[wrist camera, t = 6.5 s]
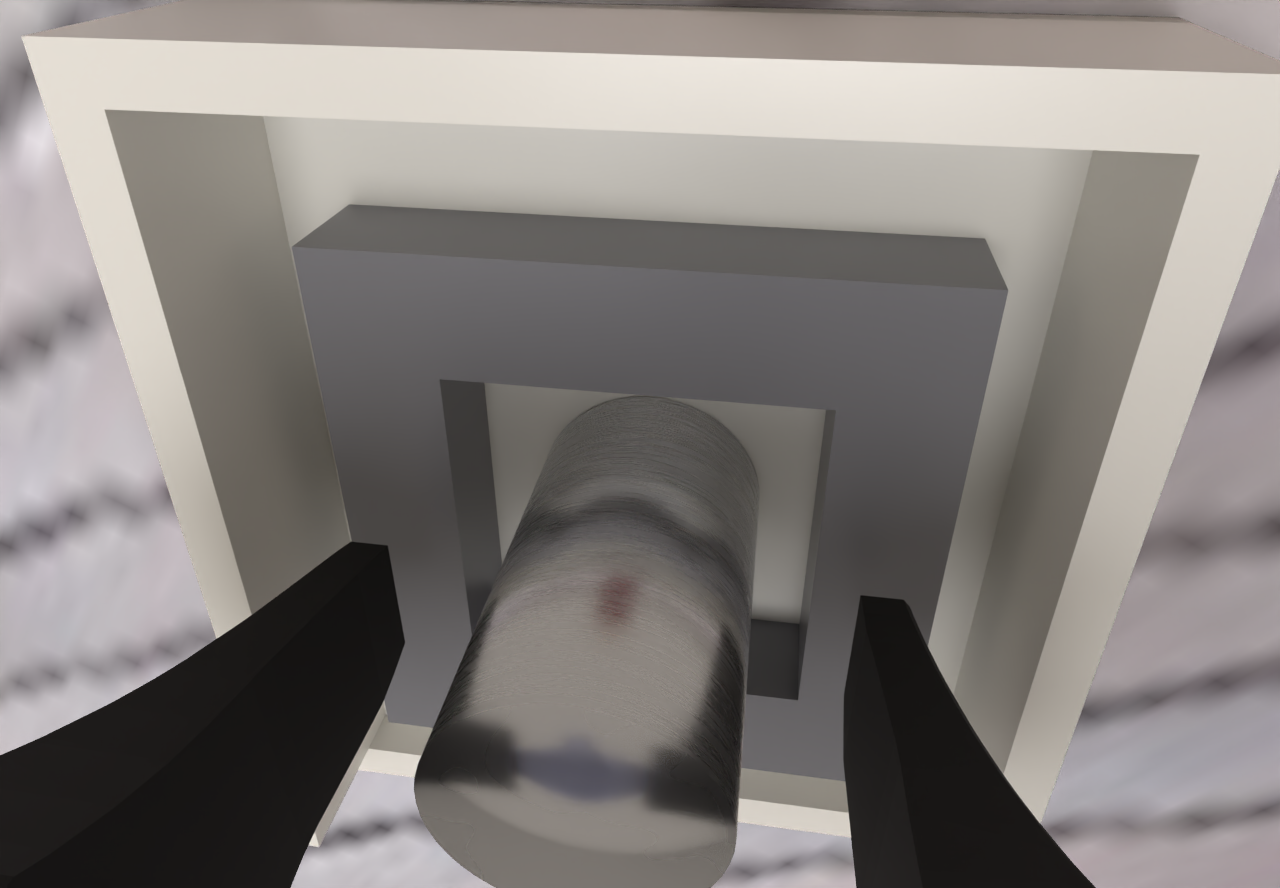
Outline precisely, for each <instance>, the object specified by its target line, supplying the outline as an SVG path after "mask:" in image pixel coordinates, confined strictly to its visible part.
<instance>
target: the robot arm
mask: <svg viewBox="0 0 1280 888" xmlns="http://www.w3.org/2000/svg"><path fill="white" fill-rule="evenodd" d="M404 645H405V639H404V633H403V627H402V622H401V616H400V611H399V605H398V599H397V594H396V588H395V583H394V577H393V571H392V566H391V560H390V555H389V549H388V545H379V544H370V543H360V542H350V543H348V544H347V545H345V546H344V547H342V548H341V549H339V550H338V551H337V552H335V553H334V554H333V555H331V556H330V557H329V558H327V559H326V560H325V561H323V562H322V563H321V564H319V565H318V566H317V567H315V568H314V569H313V570H311V571H310V572H309V573H307V574H306V575H305V576H303V577H302V578H301V579H299V580H298V581H297V582H295V583H294V584H293V585H291V586H290V587H289V588H288V589H286V590H285V591H283V592H282V593H281V594H279V595H278V596H277V597H275V598H274V599H273V600H271V601H270V602H268V603H267V604H266V605H264V606H263V607H262V608H260V609H259V610H258V611H256V612H255V613H253V614H252V615H251V616H249V617H248V618H247V619H245V620H244V621H242V622H241V623H240V624H238V625H237V626H235V627H234V628H232V629H231V630H229V631H228V632H226V633H225V634H223V635H222V636H220V637H219V638H217V639H216V640H214V641H213V642H211V643H210V644H208V645H207V646H205V647H204V648H202V649H201V650H199V651H198V652H196V653H195V654H193V655H192V656H190V657H189V658H187V659H186V660H184V661H183V662H181V663H180V664H178V665H176V666H175V667H173V668H172V669H170V670H168V671H167V672H165V673H163V674H162V675H160V676H158V677H157V678H155V679H153V680H151V681H150V682H148V683H146V684H144V685H143V686H141V687H139V688H137V689H136V690H134V691H132V692H130V693H128V694H127V695H125V696H123V697H121V698H120V699H118V700H116V701H114V702H112V703H110V704H108V705H106V706H104V707H102V708H100V709H98V710H96V711H94V712H92V713H90V714H88V715H86V716H84V717H82V718H80V719H78V720H76V721H74V722H72V723H70V724H68V725H66V726H64V727H62V728H60V729H58V730H56V731H54V732H52V733H50V734H48V735H46V736H43V737H41V738H39V739H37V740H35V741H32V742H30V743H28V744H26V745H23V746H21V747H19V748H16V749H14V750H12V751H9V752H7V753H5V754H3V755H0V888H290V887H291V885H292V882H293V880H294V877H295V875H296V872H297V870H298V868H299V865H300V863H301V860H302V858H303V855H304V853H305V851H306V849H307V847H308V845H309V843H310V841H311V839H312V837H313V834H314V832H315V830H316V828H317V826H318V824H319V822H320V821H321V819H322V817H323V815H324V813H325V811H326V809H327V807H328V806H329V804H330V802H331V800H332V798H333V796H334V794H335V792H336V791H337V789H338V787H339V785H340V783H341V781H342V779H343V778H344V776H345V774H346V772H347V770H348V768H349V766H350V764H351V763H352V761H353V759H354V757H355V755H356V753H357V751H358V750H359V748H360V746H361V744H362V742H363V740H364V738H365V736H366V734H367V732H368V731H369V729H370V727H371V725H372V723H373V721H374V719H375V717H376V715H377V713H378V711H379V709H380V707H381V705H382V703H383V701H384V699H385V696H386V694H387V691H388V689H389V686H390V684H391V681H392V678H393V676H394V673H395V670H396V667H397V665H398V662H399V659H400V656H401V653H402V651H403V648H404ZM843 763H844V773H845V783H846V792H847V802H848V812H849V821H850V830H851V840H852V849H853V858H854V868H855V877H856V886H857V888H1095V886H1094V885H1093V884H1092V883H1091V882H1090V881H1089V880H1088V879H1087V878H1086V877H1085V876H1084V875H1083V874H1082V872H1081V871H1080V870H1079V869H1078V868H1077V867H1076V866H1075V865H1074V864H1073V863H1072V861H1071V860H1070V859H1069V858H1068V857H1067V856H1066V854H1065V853H1064V852H1063V851H1062V850H1061V848H1060V847H1059V846H1058V845H1057V844H1056V842H1055V841H1054V840H1053V839H1052V838H1051V836H1050V835H1049V834H1048V833H1047V832H1046V830H1045V829H1044V828H1043V827H1042V825H1041V824H1040V823H1039V821H1038V820H1037V819H1036V818H1035V816H1034V815H1033V814H1032V812H1031V811H1030V810H1029V809H1028V807H1027V806H1026V805H1025V803H1024V802H1023V801H1022V799H1021V798H1020V797H1019V795H1018V794H1017V793H1016V791H1015V790H1014V789H1013V787H1012V786H1011V784H1010V783H1009V782H1008V780H1007V779H1006V777H1005V776H1004V775H1003V773H1002V772H1001V770H1000V769H999V767H998V766H997V764H996V763H995V761H994V760H993V758H992V757H991V755H990V754H989V752H988V751H987V749H986V748H985V746H984V745H983V743H982V742H981V740H980V739H979V737H978V735H977V734H976V732H975V731H974V729H973V727H972V726H971V724H970V723H969V721H968V719H967V718H966V716H965V714H964V712H963V711H962V709H961V707H960V705H959V704H958V702H957V700H956V699H955V697H954V695H953V693H952V692H951V690H950V688H949V687H948V685H947V683H946V681H945V679H944V677H943V676H942V674H941V672H940V670H939V668H938V666H937V664H936V662H935V660H934V658H933V656H932V654H931V652H930V650H929V648H928V646H927V644H926V642H925V640H924V638H923V636H922V634H921V631H920V629H919V627H918V625H917V622H916V620H915V618H914V615H913V613H912V610H911V608H910V606H909V605H908V604H907V603H906V602H905V600H902V599H893V598H883V597H874V596H864V595H860V601H859V607H858V613H857V619H856V625H855V631H854V637H853V643H852V649H851V655H850V661H849V667H848V673H847V679H846V685H845V691H844V716H843Z"/></svg>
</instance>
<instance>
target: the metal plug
mask: <svg viewBox="0 0 1280 888" xmlns="http://www.w3.org/2000/svg"><path fill="white" fill-rule="evenodd" d="M759 499H760V497H759V483H758V477H757V473H756V470H755V467H754V465H753V462H752V460H751V458H750V456H749V455H748V453H747V451H746V449H745V448H744V447H743V445H742V444H741V443H740V441H739V440H738V439H737V438H736V437H735V436H734V435H733V434H732V432H731V431H730V430H729V429H727V428H726V427H725V426H724V425H722V424H721V423H720V422H719V421H717V420H716V419H714V418H713V417H711V416H709V415H708V414H706V413H704V412H702V411H700V410H698V409H696V408H694V407H692V406H689V405H686V404H683V403H680V402H677V401H672V400H668V399H663V398H655V397H629V398H621V399H616V400H612V401H608V402H605V403H602V404H600V405H597V406H594V407H592V408H590V409H588V410H587V411H585V412H583V413H581V414H580V415H579V416H577V417H576V418H575V419H573V420H572V421H571V422H570V423H569V424H568V425H567V426H566V427H565V428H564V429H563V430H562V431H561V432H560V434H559V435H558V437H557V438H556V440H555V441H554V443H553V445H552V447H551V449H550V451H549V454H548V456H547V459H546V461H545V463H544V466H543V468H542V470H541V473H540V475H539V478H538V480H537V482H536V485H535V487H534V489H533V492H532V494H531V497H530V499H529V501H528V504H527V506H526V508H525V511H524V513H523V516H522V518H521V520H520V523H519V525H518V527H517V530H516V532H515V535H514V537H513V539H512V542H511V544H510V546H509V549H508V551H507V554H506V556H505V558H504V561H503V563H502V565H501V568H500V570H499V573H498V575H497V577H496V580H495V582H494V584H493V587H492V589H491V592H490V594H489V596H488V599H487V601H486V604H485V606H484V608H483V611H482V613H481V615H480V618H479V620H478V623H477V625H476V627H475V630H474V632H473V634H472V637H471V639H470V642H469V644H468V646H467V649H466V651H465V653H464V656H463V658H462V661H461V663H460V665H459V668H458V670H457V672H456V675H455V677H454V680H453V682H452V684H451V687H450V689H449V691H448V694H447V696H446V699H445V701H444V703H443V706H442V708H441V710H440V713H439V715H438V718H437V720H436V722H435V725H434V727H433V729H432V732H431V734H430V737H429V739H428V741H427V744H426V746H425V748H424V751H423V753H422V756H421V758H420V760H419V763H418V766H417V770H416V773H415V781H414V792H415V799H416V804H417V807H418V810H419V813H420V816H421V818H422V820H423V821H424V823H425V825H426V827H427V829H428V830H429V832H430V833H431V835H432V836H433V837H434V839H435V840H436V842H437V843H438V844H439V845H440V846H441V847H442V848H443V849H444V850H445V851H446V852H447V854H449V855H450V856H451V857H452V858H453V859H454V860H455V861H457V862H458V863H459V864H460V865H461V866H463V867H464V868H465V869H467V870H468V871H469V872H471V873H472V874H474V875H475V876H477V877H478V878H480V879H482V880H483V881H485V882H487V883H488V884H490V885H492V886H494V887H496V888H710V887H712V886H713V885H714V884H715V883H716V882H717V881H718V880H719V879H720V878H721V877H722V875H723V874H724V872H725V871H726V869H727V868H728V866H729V865H730V862H731V859H732V857H733V854H734V851H735V845H736V837H737V822H738V808H739V793H740V778H741V764H742V749H743V734H744V719H745V705H746V690H747V675H748V660H749V646H750V631H751V616H752V602H753V587H754V572H755V557H756V543H757V528H758V513H759Z"/></svg>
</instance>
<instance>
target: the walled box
mask: <svg viewBox="0 0 1280 888" xmlns="http://www.w3.org/2000/svg"><path fill="white" fill-rule="evenodd" d="M22 39H23V43H24V46H25V49H26V52H27V55H28V58H29V61H30V64H31V67H32V70H33V73H34V76H35V80H36V83H37V86H38V89H39V92H40V95H41V98H42V101H43V104H44V107H45V110H46V113H47V117H48V120H49V123H50V126H51V129H52V132H53V135H54V138H55V141H56V144H57V147H58V151H59V154H60V157H61V160H62V163H63V166H64V169H65V172H66V175H67V178H68V181H69V184H70V188H71V191H72V194H73V197H74V200H75V203H76V206H77V209H78V212H79V215H80V218H81V222H82V225H83V228H84V231H85V234H86V237H87V240H88V243H89V246H90V249H91V252H92V255H93V259H94V262H95V265H96V268H97V271H98V274H99V277H100V280H101V283H102V286H103V289H104V293H105V296H106V299H107V302H108V305H109V308H110V311H111V314H112V317H113V320H114V323H115V326H116V330H117V333H118V336H119V339H120V342H121V345H122V348H123V351H124V354H125V357H126V360H127V363H128V367H129V370H130V373H131V376H132V379H133V382H134V385H135V388H136V391H137V394H138V397H139V401H140V404H141V407H142V410H143V413H144V416H145V419H146V422H147V425H148V428H149V431H150V434H151V438H152V441H153V444H154V447H155V450H156V453H157V456H158V459H159V462H160V465H161V468H162V472H163V475H164V478H165V481H166V484H167V487H168V490H169V493H170V496H171V499H172V502H173V505H174V509H175V512H176V515H177V518H178V521H179V524H180V527H181V530H182V533H183V536H184V539H185V543H186V546H187V549H188V552H189V555H190V558H191V561H192V564H193V567H194V570H195V573H196V576H197V580H198V583H199V586H200V589H201V592H202V595H203V598H204V601H205V604H206V607H207V610H208V613H209V617H210V620H211V623H212V626H213V629H214V632H215V635H216V638H219V637H220V636H222V635H223V634H225V633H226V632H228V631H229V630H231V629H232V628H234V627H235V626H237V625H238V624H240V623H241V622H242V621H244V620H245V619H247V618H248V617H249V616H251V615H252V614H253V613H255V612H256V611H258V610H259V609H260V608H262V607H263V606H264V605H266V604H267V603H268V602H270V601H271V600H273V599H274V598H275V597H277V596H278V595H279V594H281V593H282V592H283V591H285V590H286V589H288V588H289V587H290V586H291V585H293V584H294V583H295V582H297V581H298V580H299V579H301V578H302V577H303V576H305V575H306V574H307V573H309V572H310V571H311V570H313V569H314V568H315V567H317V566H318V565H319V564H321V563H322V562H323V561H325V560H326V559H327V558H329V557H330V556H331V555H333V554H334V553H335V552H337V551H338V550H339V549H341V548H342V547H344V546H345V545H347V544H348V543H350V542H360V543H370V544H379V545H388V549H389V555H390V560H391V566H392V571H393V577H394V583H395V588H396V594H397V599H398V605H399V611H400V616H401V622H402V627H403V633H404V639H405V645H404V648H403V651H402V653H401V656H400V659H399V662H398V665H397V667H396V670H395V673H394V676H393V678H392V681H391V684H390V686H389V689H388V691H387V694H386V696H385V699H384V701H383V703H382V705H381V707H380V709H379V711H378V713H377V715H376V717H375V719H374V721H373V723H372V725H371V727H370V729H369V731H368V732H367V734H366V736H365V738H364V740H363V742H362V744H361V746H360V748H359V750H358V751H357V753H356V755H355V757H354V759H353V761H352V763H351V764H350V766H349V768H348V770H347V772H346V774H345V776H344V778H343V779H342V781H341V783H340V785H339V787H338V789H337V791H336V792H335V794H334V796H333V798H332V800H331V802H330V804H329V806H328V807H327V809H326V811H325V813H324V815H323V817H322V819H321V821H320V822H319V824H318V826H317V828H316V830H315V832H314V834H313V837H312V839H311V841H310V843H309V845H310V846H317V847H320V845H321V843H322V841H323V839H324V837H325V835H326V833H327V831H328V829H329V827H330V825H331V823H332V821H333V819H334V817H335V815H336V813H337V811H338V809H339V807H340V805H341V803H342V801H343V799H344V797H345V795H346V793H347V791H348V789H349V787H350V785H351V783H352V781H353V779H354V777H355V775H356V773H357V771H358V770H363V771H370V772H377V773H385V774H392V775H399V776H407V777H414V778H415V773H416V770H417V766H418V763H419V760H420V758H421V756H422V753H423V751H424V748H425V746H426V744H427V741H428V739H429V737H430V734H431V732H432V729H433V727H434V725H435V722H436V720H437V718H438V715H439V713H440V710H441V708H442V706H443V703H444V701H445V699H446V696H447V694H448V691H449V689H450V687H451V684H452V682H453V680H454V677H455V675H456V672H457V670H458V668H459V665H460V663H461V661H462V658H463V656H464V653H465V651H466V649H467V646H468V644H469V642H470V639H471V637H472V634H473V632H474V630H475V627H476V625H477V623H478V620H479V618H480V615H481V613H482V611H483V608H484V606H485V604H486V601H487V599H488V596H489V594H490V592H491V589H492V587H493V584H494V582H495V580H496V577H497V575H498V573H499V570H500V568H501V565H502V563H503V561H504V558H505V556H506V554H507V551H508V549H509V546H510V544H511V542H512V539H513V537H514V535H515V532H516V530H517V527H518V525H519V523H520V520H521V518H522V516H523V513H524V511H525V508H526V506H527V504H528V501H529V499H530V497H531V494H532V492H533V489H534V487H535V485H536V482H537V480H538V478H539V475H540V473H541V470H542V468H543V466H544V463H545V461H546V459H547V456H548V454H549V451H550V449H551V447H552V445H553V443H554V441H555V440H556V438H557V437H558V435H559V434H560V432H561V431H562V430H563V429H564V428H565V427H566V426H567V425H568V424H569V423H570V422H571V421H572V420H573V419H575V418H576V417H577V416H579V415H580V414H581V413H583V412H585V411H587V410H588V409H590V408H592V407H594V406H597V405H600V404H602V403H605V402H608V401H612V400H616V399H621V398H629V397H655V398H663V399H668V400H672V401H677V402H680V403H683V404H686V405H689V406H692V407H694V408H696V409H698V410H700V411H702V412H704V413H706V414H708V415H709V416H711V417H713V418H714V419H716V420H717V421H719V422H720V423H721V424H722V425H724V426H725V427H726V428H727V429H729V430H730V431H731V432H732V434H733V435H734V436H735V437H736V438H737V439H738V440H739V441H740V443H741V444H742V445H743V447H744V448H745V449H746V451H747V453H748V455H749V456H750V458H751V460H752V462H753V465H754V467H755V470H756V473H757V477H758V483H759V497H760V499H759V513H758V528H757V543H756V557H755V572H754V587H753V602H752V616H751V631H750V646H749V660H748V675H747V690H746V705H745V719H744V734H743V749H742V764H741V778H740V793H739V808H738V822H741V823H749V824H756V825H763V826H770V827H778V828H785V829H792V830H800V831H807V832H814V833H821V834H829V835H836V836H843V837H850V838H851V830H850V821H849V812H848V802H847V792H846V783H845V773H844V763H843V716H844V691H845V685H846V679H847V673H848V667H849V661H850V655H851V649H852V643H853V637H854V631H855V625H856V619H857V613H858V607H859V601H860V595H864V596H874V597H883V598H893V599H902V600H905V602H906V603H907V604H908V605H909V606H910V608H911V610H912V613H913V615H914V618H915V620H916V622H917V625H918V627H919V629H920V631H921V634H922V636H923V638H924V640H925V642H926V644H927V646H928V648H929V650H930V652H931V654H932V656H933V658H934V660H935V662H936V664H937V666H938V668H939V670H940V672H941V674H942V676H943V677H944V679H945V681H946V683H947V685H948V687H949V688H950V690H951V692H952V693H953V695H954V697H955V699H956V700H957V702H958V704H959V705H960V707H961V709H962V711H963V712H964V714H965V716H966V718H967V719H968V721H969V723H970V724H971V726H972V727H973V729H974V731H975V732H976V734H977V735H978V737H979V739H980V740H981V742H982V743H983V745H984V746H985V748H986V749H987V751H988V752H989V754H990V755H991V757H992V758H993V760H994V761H995V763H996V764H997V766H998V767H999V769H1000V770H1001V772H1002V773H1003V775H1004V776H1005V777H1006V779H1007V780H1008V782H1009V783H1010V784H1011V786H1012V787H1013V789H1014V790H1015V791H1016V793H1017V794H1018V795H1019V797H1020V798H1021V799H1022V801H1023V802H1024V803H1025V805H1026V806H1027V807H1028V809H1029V810H1030V811H1031V812H1032V814H1033V815H1034V816H1035V818H1036V819H1037V820H1038V821H1039V823H1040V824H1041V821H1042V818H1043V816H1044V813H1045V810H1046V807H1047V805H1048V802H1049V799H1050V796H1051V794H1052V791H1053V788H1054V785H1055V783H1056V780H1057V777H1058V774H1059V772H1060V769H1061V766H1062V764H1063V761H1064V758H1065V755H1066V753H1067V750H1068V747H1069V744H1070V742H1071V739H1072V736H1073V733H1074V731H1075V728H1076V725H1077V722H1078V720H1079V717H1080V714H1081V711H1082V709H1083V706H1084V703H1085V700H1086V698H1087V695H1088V692H1089V690H1090V687H1091V684H1092V681H1093V679H1094V676H1095V673H1096V670H1097V668H1098V665H1099V662H1100V659H1101V657H1102V654H1103V651H1104V648H1105V646H1106V643H1107V640H1108V637H1109V635H1110V632H1111V629H1112V626H1113V624H1114V621H1115V618H1116V615H1117V613H1118V610H1119V607H1120V605H1121V602H1122V599H1123V596H1124V594H1125V591H1126V588H1127V585H1128V583H1129V580H1130V577H1131V574H1132V572H1133V569H1134V566H1135V563H1136V561H1137V558H1138V555H1139V552H1140V550H1141V547H1142V544H1143V541H1144V539H1145V536H1146V533H1147V531H1148V528H1149V525H1150V522H1151V520H1152V517H1153V514H1154V511H1155V509H1156V506H1157V503H1158V500H1159V498H1160V495H1161V492H1162V489H1163V487H1164V484H1165V481H1166V478H1167V476H1168V473H1169V470H1170V467H1171V465H1172V462H1173V459H1174V456H1175V454H1176V451H1177V448H1178V446H1179V443H1180V440H1181V437H1182V435H1183V432H1184V429H1185V426H1186V424H1187V421H1188V418H1189V415H1190V413H1191V410H1192V407H1193V404H1194V402H1195V399H1196V396H1197V393H1198V391H1199V388H1200V385H1201V382H1202V380H1203V377H1204V374H1205V372H1206V369H1207V366H1208V363H1209V361H1210V358H1211V355H1212V352H1213V350H1214V347H1215V344H1216V341H1217V339H1218V336H1219V333H1220V330H1221V328H1222V325H1223V322H1224V319H1225V317H1226V314H1227V311H1228V308H1229V306H1230V303H1231V300H1232V297H1233V295H1234V292H1235V289H1236V287H1237V284H1238V281H1239V278H1240V276H1241V273H1242V270H1243V267H1244V265H1245V262H1246V259H1247V256H1248V254H1249V251H1250V248H1251V245H1252V243H1253V240H1254V237H1255V234H1256V232H1257V229H1258V226H1259V223H1260V221H1261V218H1262V215H1263V213H1264V210H1265V207H1266V204H1267V202H1268V199H1269V196H1270V193H1271V191H1272V188H1273V185H1274V182H1275V180H1276V177H1277V174H1278V171H1279V169H1280V61H1279V60H1277V59H1274V58H1272V57H1270V56H1267V55H1265V54H1263V53H1260V52H1258V51H1256V50H1254V49H1251V48H1249V47H1247V46H1244V45H1242V44H1240V43H1237V42H1235V41H1233V40H1230V39H1228V38H1226V37H1223V36H1221V35H1219V34H1216V33H1214V32H1212V31H1209V30H1207V29H1205V28H1202V27H1200V26H1198V25H1195V24H1193V23H1191V22H1188V21H1186V20H1184V19H1181V18H1179V17H1137V16H1094V15H1051V14H1008V13H965V12H922V11H879V10H837V9H794V8H751V7H708V6H665V5H622V4H579V3H536V2H494V1H451V0H182V1H177V2H173V3H168V4H164V5H159V6H154V7H150V8H145V9H141V10H136V11H132V12H127V13H123V14H118V15H114V16H109V17H105V18H100V19H96V20H91V21H87V22H82V23H78V24H73V25H69V26H64V27H60V28H55V29H51V30H46V31H42V32H37V33H33V34H28V35H24V36H22Z"/></svg>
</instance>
